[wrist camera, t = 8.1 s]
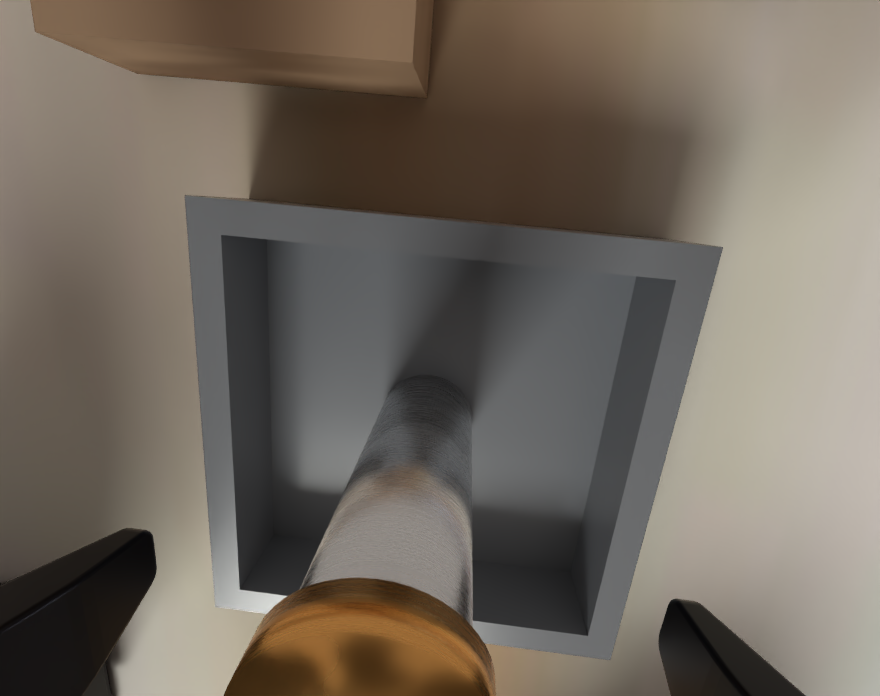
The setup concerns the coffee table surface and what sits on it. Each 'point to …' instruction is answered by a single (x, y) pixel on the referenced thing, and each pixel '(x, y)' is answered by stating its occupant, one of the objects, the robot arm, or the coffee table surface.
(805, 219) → the coffee table surface
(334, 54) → the block
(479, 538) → the tray
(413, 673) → the lock pin
